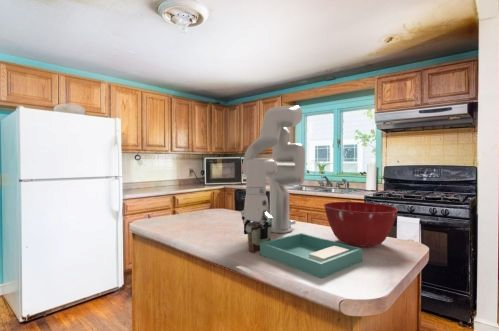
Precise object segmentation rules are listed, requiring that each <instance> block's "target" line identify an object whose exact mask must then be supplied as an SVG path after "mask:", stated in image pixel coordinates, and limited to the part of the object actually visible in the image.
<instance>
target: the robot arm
mask: <svg viewBox="0 0 499 331" xmlns="http://www.w3.org/2000/svg"><path fill="white" fill-rule="evenodd" d="M302 120H303V110H302V108H301V106H299V105H285V106H284V105H283V106H281V105H280V106H274V107H270V108H268V109H267V111H266V112H265V113H264V116H263V119H262V123H261V124H262V125H261V129H260V131H259V132H260V133H259V136H258V138H257V139H255V140H254V141H253V142H252V143H251V144H250V145H249V146H248V147H247V149H246V150H245V152H244V157H243V159H242V160H243V161H242V164H241V165H242V166H241V167H242V168H241V170H242V173H243V175H244V176H245V178H246V180H245V187H246V188H245V197H244V206H243V210H241V211H240V214H241V219H242V223H243V234H244V235H248V233H247V231H246V226H247V224H248V223H250V222H257V223H260V225H261V227H262V228H261V229H260V239H262V240H263V239H267V238H268V228H269V226H270V225H271V222H272V226H273V227H271V233H275V234H287V233H292V232H293V230H294V229H293V227H292V225H295V224H296V223H297V222H296V220H295V219H294V220H293V219H292V220H290V192H289V191H288V189H287V187H286V186H301V185H303V184H304V183H305V182H304V181H305V175H306V174H305V173H306V172H305V170H306V149H305V146H304V145H303V144H302V143H300V142H299V143H298V142H294V143H292V142H291V138H292V137H291V132H290V131H289V129H288V128H294V127H296V126H297V125H299V124H300V123H301V122H302ZM270 148H272V154H271V155H272V159H271V158H270V159H268V158H266V159H265V158H256V157H257V155H259V154H260V153H261V152H264V151H265V150H268V149H270ZM277 163H280V164H279V165H278V164H277ZM282 164H283V165H282ZM285 164H286V165H285ZM288 164H290V165H288ZM292 164H293V165H292ZM267 179H268V185H269V198H268V196H267V195H266V193H267V187H266V186H267V183H266V182H267ZM263 223H264V224H263Z"/></svg>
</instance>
